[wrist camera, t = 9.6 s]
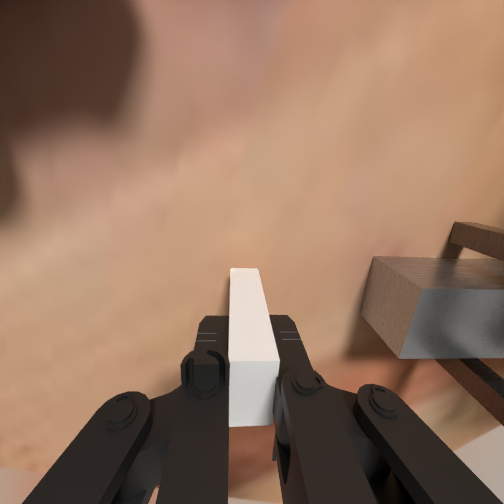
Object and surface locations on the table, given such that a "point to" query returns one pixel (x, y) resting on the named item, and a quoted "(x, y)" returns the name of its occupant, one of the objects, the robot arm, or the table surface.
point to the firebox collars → (472, 369)
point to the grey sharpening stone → (437, 306)
